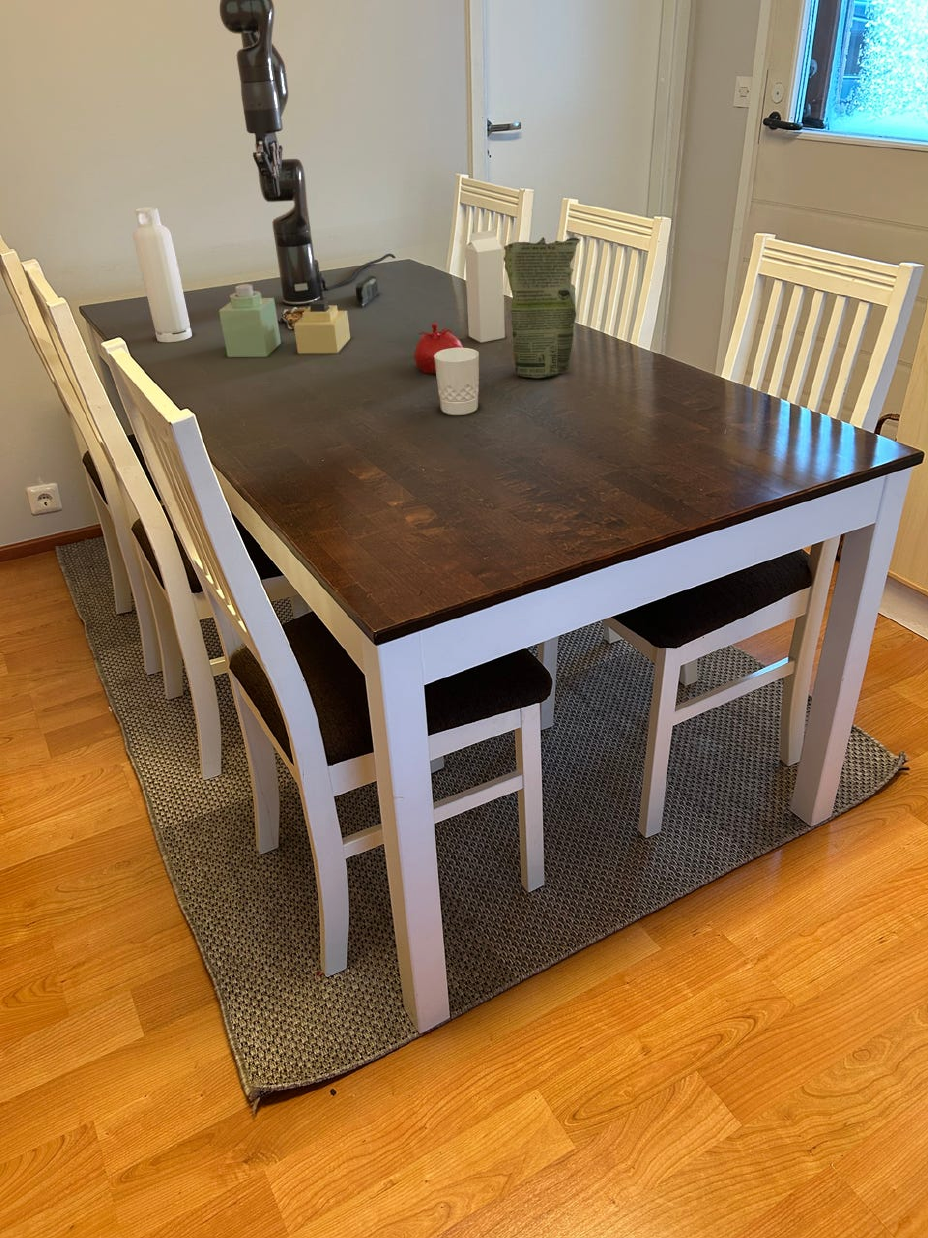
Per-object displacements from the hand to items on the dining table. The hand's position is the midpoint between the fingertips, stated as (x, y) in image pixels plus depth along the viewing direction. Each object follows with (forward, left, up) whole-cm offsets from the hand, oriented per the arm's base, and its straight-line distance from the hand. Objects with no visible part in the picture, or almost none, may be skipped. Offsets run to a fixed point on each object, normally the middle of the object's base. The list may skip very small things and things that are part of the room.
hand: (274, 196), depth 203 cm
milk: (-21, +42, -29) cm, 55 cm away
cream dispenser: (+4, +16, -29) cm, 33 cm away
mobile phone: (-28, -6, -29) cm, 41 cm away
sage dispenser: (+15, +5, -29) cm, 33 cm away
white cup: (+15, +68, -29) cm, 76 cm away
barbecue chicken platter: (-4, -3, -29) cm, 30 cm away
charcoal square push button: (+4, +16, -21) cm, 27 cm away
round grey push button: (+15, +5, -17) cm, 24 cm away
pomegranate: (+1, +49, -29) cm, 57 cm away
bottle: (+20, -20, -29) cm, 41 cm away
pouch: (-10, +67, -29) cm, 74 cm away
